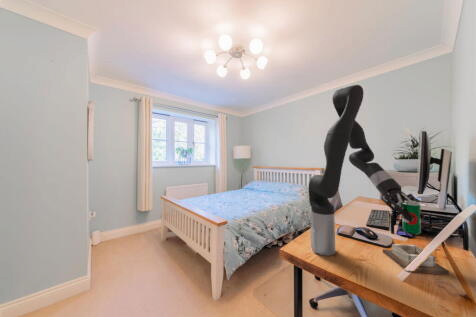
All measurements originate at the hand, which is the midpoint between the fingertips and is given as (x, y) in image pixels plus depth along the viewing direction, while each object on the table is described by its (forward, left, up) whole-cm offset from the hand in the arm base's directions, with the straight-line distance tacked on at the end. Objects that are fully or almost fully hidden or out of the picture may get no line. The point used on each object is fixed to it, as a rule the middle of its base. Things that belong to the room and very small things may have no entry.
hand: (416, 219), depth 67 cm
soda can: (-1, +2, -6) cm, 6 cm away
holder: (-1, +2, -17) cm, 17 cm away
